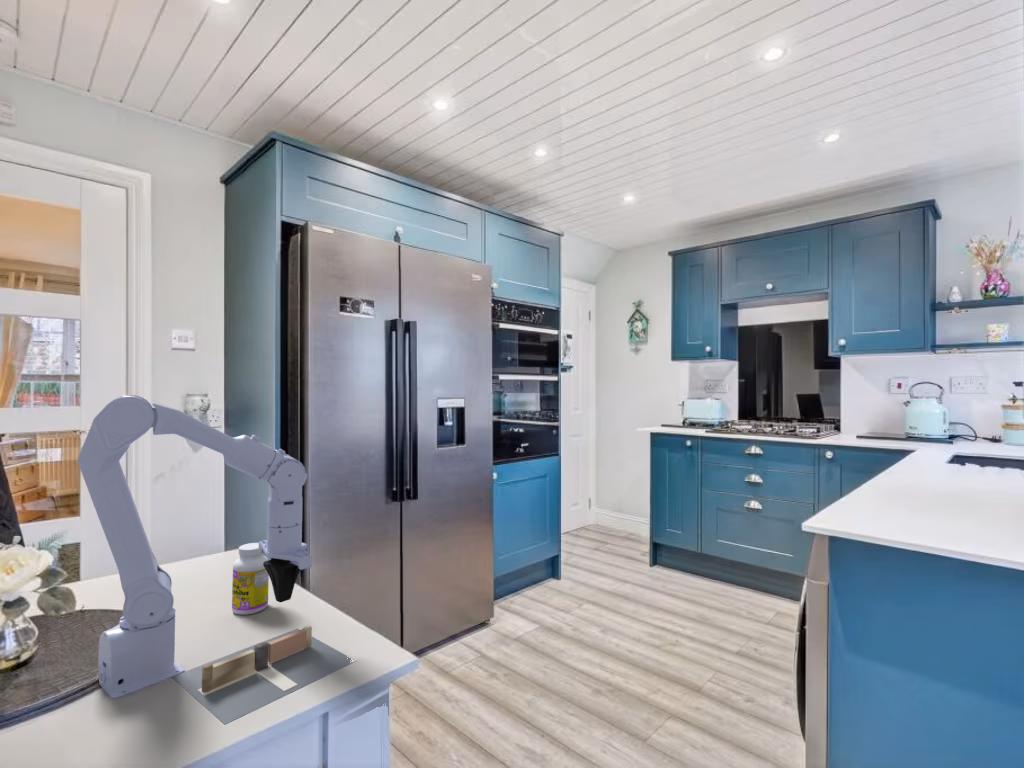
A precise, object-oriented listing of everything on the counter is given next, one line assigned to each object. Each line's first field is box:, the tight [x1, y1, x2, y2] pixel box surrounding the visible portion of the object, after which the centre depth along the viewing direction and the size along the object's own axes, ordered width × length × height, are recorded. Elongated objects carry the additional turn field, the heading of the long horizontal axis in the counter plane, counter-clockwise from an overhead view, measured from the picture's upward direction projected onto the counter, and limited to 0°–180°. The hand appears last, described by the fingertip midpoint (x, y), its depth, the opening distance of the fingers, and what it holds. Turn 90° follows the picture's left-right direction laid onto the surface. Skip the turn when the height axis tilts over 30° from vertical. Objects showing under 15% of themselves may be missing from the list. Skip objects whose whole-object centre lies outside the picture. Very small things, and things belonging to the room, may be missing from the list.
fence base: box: [202, 641, 268, 692], centre depth 81 cm, size 10×2×4 cm, turn 143°
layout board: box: [171, 628, 355, 725], centre depth 84 cm, size 21×18×1 cm
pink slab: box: [268, 625, 313, 663], centre depth 88 cm, size 8×1×3 cm, turn 143°
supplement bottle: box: [231, 542, 270, 616], centre depth 107 cm, size 7×7×13 cm
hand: (283, 599), depth 94 cm, fingers closed
